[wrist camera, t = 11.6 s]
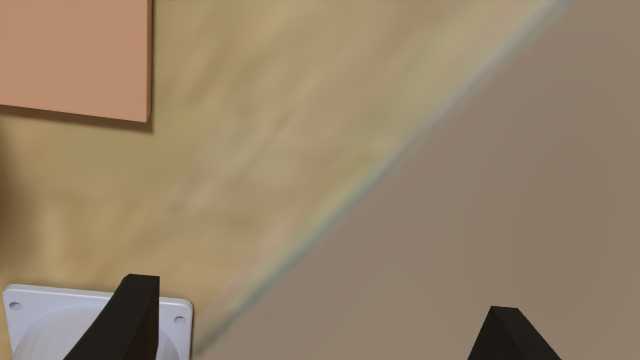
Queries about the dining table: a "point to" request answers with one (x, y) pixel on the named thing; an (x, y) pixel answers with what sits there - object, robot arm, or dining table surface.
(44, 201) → the dining table surface
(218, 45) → the dining table surface
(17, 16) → the coaster
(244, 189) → the dining table surface
